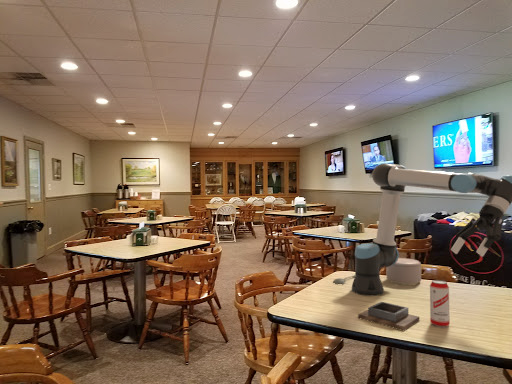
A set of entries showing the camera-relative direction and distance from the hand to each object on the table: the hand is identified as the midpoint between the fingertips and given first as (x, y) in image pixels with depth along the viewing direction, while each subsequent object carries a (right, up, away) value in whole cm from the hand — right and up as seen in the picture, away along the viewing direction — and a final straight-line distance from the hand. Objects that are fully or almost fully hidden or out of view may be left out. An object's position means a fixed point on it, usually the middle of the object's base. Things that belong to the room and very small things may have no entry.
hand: (465, 253), depth 132 cm
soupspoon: (-30, -28, +63) cm, 75 cm away
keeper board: (-29, -26, +1) cm, 39 cm away
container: (+2, -27, +60) cm, 66 cm away
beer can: (-13, -26, -5) cm, 29 cm away
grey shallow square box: (-29, -25, +1) cm, 38 cm away
